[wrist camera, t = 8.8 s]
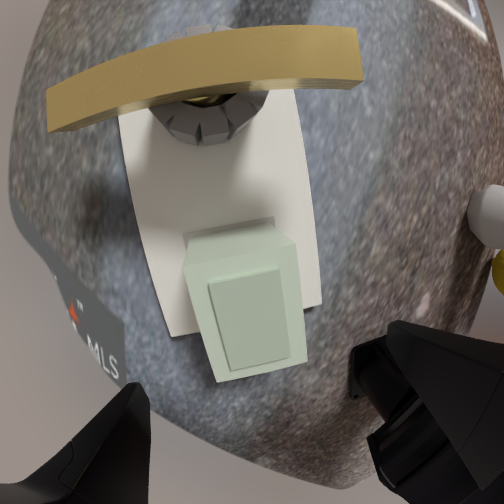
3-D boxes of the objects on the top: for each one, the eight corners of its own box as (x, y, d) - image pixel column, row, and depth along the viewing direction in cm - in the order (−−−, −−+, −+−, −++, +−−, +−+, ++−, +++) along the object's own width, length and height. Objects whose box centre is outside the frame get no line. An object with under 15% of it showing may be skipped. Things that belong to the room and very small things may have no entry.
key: (325, 70, 12) (355, 28, 6) (329, 104, 13) (363, 80, 7) (118, 99, 14) (46, 89, 8) (120, 129, 14) (47, 132, 8)
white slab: (316, 301, 19) (348, 339, 14) (174, 332, 18) (167, 381, 13) (278, 46, 14) (303, 8, 9) (118, 73, 13) (90, 41, 8)
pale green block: (282, 314, 18) (309, 364, 13) (212, 330, 17) (217, 385, 12) (268, 222, 16) (297, 245, 11) (189, 238, 15) (182, 269, 10)
